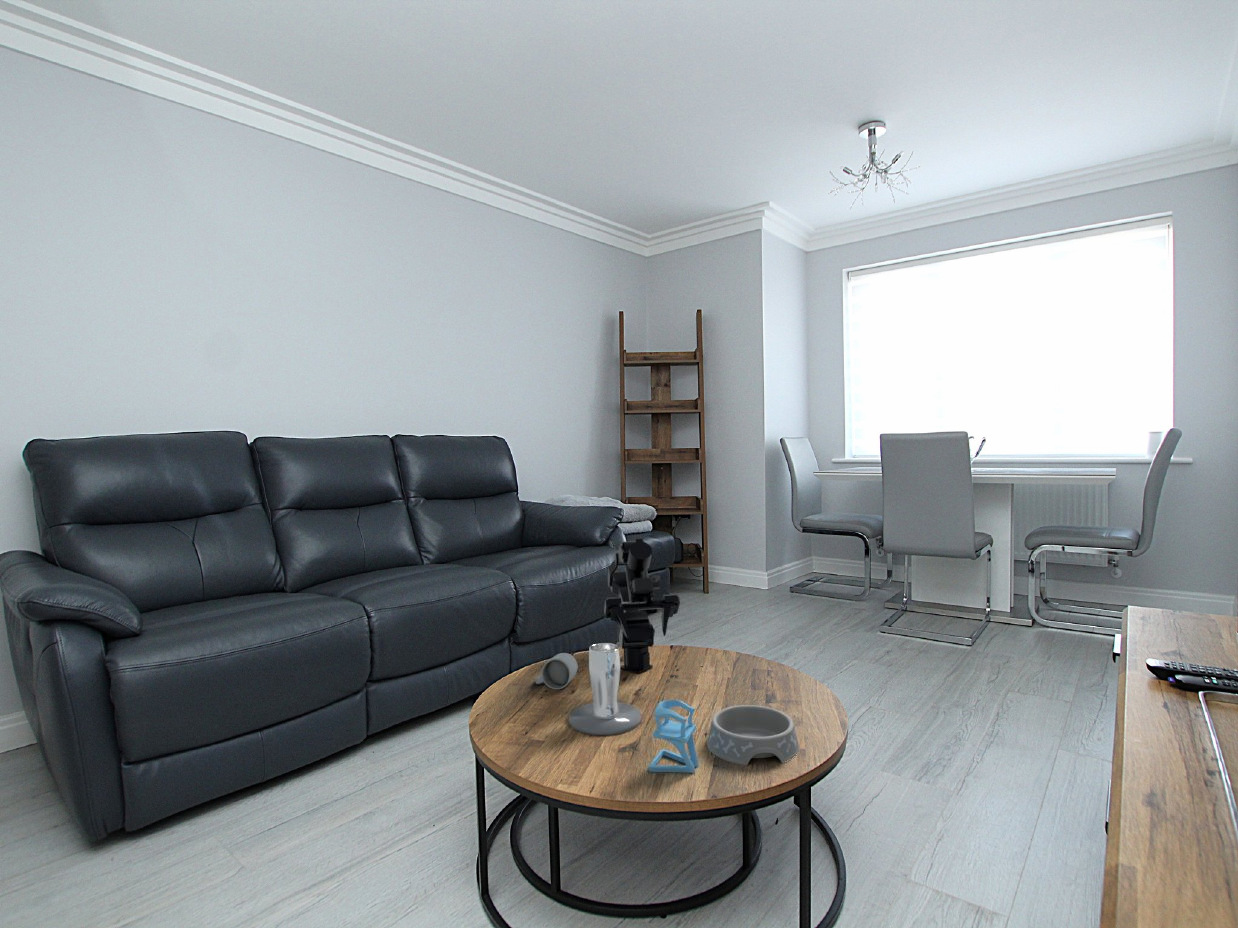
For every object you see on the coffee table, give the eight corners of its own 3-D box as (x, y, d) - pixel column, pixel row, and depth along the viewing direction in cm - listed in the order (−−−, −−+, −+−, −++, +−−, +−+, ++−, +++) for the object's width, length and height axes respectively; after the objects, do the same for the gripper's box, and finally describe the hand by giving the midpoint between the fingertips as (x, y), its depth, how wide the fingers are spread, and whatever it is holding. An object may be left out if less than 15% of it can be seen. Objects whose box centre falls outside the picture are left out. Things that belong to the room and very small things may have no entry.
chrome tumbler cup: (612, 722, 147) (610, 653, 146) (584, 717, 150) (582, 649, 150) (626, 711, 153) (625, 644, 153) (599, 706, 156) (597, 641, 156)
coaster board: (553, 721, 151) (553, 717, 151) (604, 700, 163) (604, 696, 163) (606, 742, 140) (606, 737, 140) (656, 717, 152) (656, 713, 152)
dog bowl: (812, 763, 130) (812, 735, 129) (717, 769, 128) (716, 740, 128) (783, 726, 147) (783, 701, 146) (699, 730, 145) (698, 705, 145)
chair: (690, 779, 124) (690, 714, 124) (647, 771, 127) (646, 707, 127) (702, 760, 131) (701, 698, 131) (661, 753, 134) (660, 693, 134)
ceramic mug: (579, 679, 178) (578, 649, 177) (570, 690, 170) (569, 659, 169) (540, 677, 180) (539, 648, 180) (530, 688, 172) (528, 658, 172)
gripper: (604, 565, 171) (610, 621, 160) (677, 562, 173) (688, 616, 163) (601, 590, 179) (607, 644, 169) (671, 586, 182) (681, 640, 171)
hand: (646, 636), depth 168 cm, fingers open, 9 cm apart
